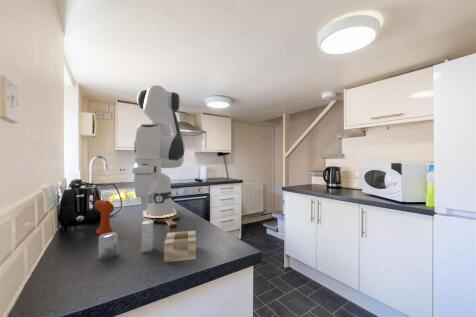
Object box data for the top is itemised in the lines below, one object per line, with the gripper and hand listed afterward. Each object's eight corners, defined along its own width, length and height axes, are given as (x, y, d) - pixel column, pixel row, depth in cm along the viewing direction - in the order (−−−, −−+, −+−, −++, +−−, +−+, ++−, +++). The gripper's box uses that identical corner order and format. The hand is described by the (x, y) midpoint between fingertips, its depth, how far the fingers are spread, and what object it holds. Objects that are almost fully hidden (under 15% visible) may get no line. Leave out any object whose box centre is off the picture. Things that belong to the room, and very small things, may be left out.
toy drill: (91, 223, 99) (93, 193, 98) (115, 234, 91) (118, 201, 90) (79, 226, 94) (82, 194, 94) (104, 237, 86) (107, 203, 86)
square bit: (143, 248, 74) (143, 221, 74) (153, 247, 75) (153, 220, 75) (141, 252, 71) (141, 224, 71) (151, 251, 72) (151, 223, 72)
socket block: (167, 249, 73) (167, 232, 74) (195, 246, 76) (195, 230, 76) (164, 262, 64) (164, 243, 64) (196, 259, 66) (196, 240, 66)
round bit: (102, 253, 70) (102, 233, 70) (120, 251, 71) (120, 231, 72) (95, 260, 65) (95, 239, 65) (114, 258, 66) (114, 237, 66)
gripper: (145, 167, 83) (144, 201, 82) (130, 168, 63) (130, 213, 62) (161, 167, 84) (161, 200, 84) (152, 168, 64) (151, 211, 64)
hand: (147, 205), depth 73 cm, fingers open, 8 cm apart
